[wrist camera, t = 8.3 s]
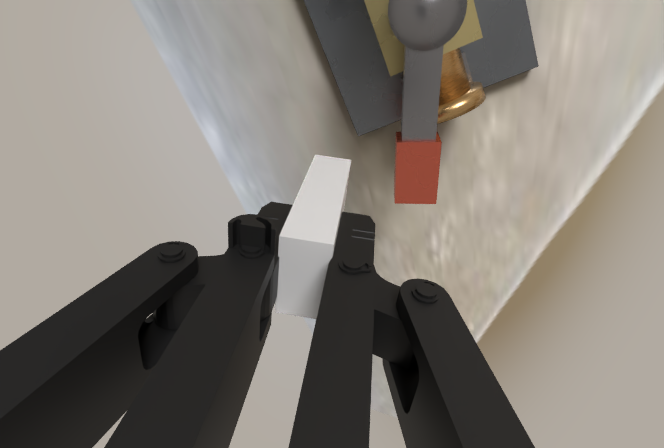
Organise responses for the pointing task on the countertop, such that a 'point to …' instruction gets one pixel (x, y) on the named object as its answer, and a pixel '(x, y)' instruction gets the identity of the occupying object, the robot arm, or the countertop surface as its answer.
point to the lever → (421, 92)
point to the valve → (388, 56)
